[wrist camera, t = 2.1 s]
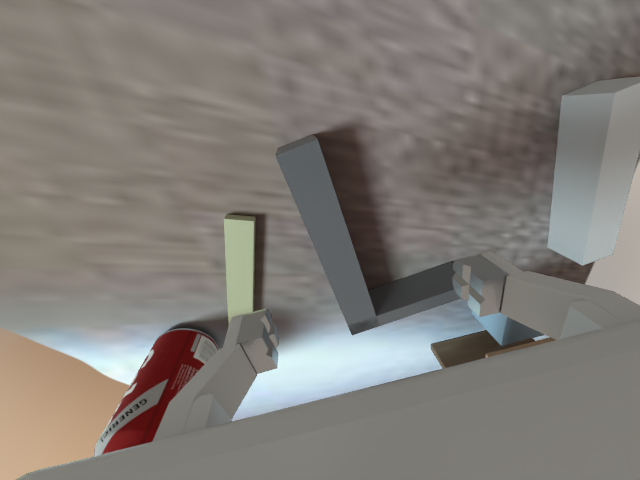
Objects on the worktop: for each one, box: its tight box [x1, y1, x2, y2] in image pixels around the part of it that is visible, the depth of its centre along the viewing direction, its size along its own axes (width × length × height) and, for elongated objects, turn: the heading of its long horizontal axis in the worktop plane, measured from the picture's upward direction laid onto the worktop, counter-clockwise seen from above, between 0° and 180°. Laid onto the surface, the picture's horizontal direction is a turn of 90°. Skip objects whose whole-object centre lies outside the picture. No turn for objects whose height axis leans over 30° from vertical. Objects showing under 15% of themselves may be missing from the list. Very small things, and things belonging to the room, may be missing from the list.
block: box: [472, 310, 544, 346], centre depth 28 cm, size 5×5×5 cm
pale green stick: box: [224, 214, 256, 325], centre depth 25 cm, size 14×2×2 cm, turn 172°
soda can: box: [94, 328, 218, 456], centre depth 23 cm, size 7×7×12 cm
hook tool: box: [276, 134, 460, 335], centre depth 22 cm, size 19×13×4 cm
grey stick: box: [548, 76, 640, 266], centre depth 22 cm, size 16×3×4 cm, turn 22°
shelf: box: [431, 330, 555, 369], centre depth 27 cm, size 12×12×10 cm
